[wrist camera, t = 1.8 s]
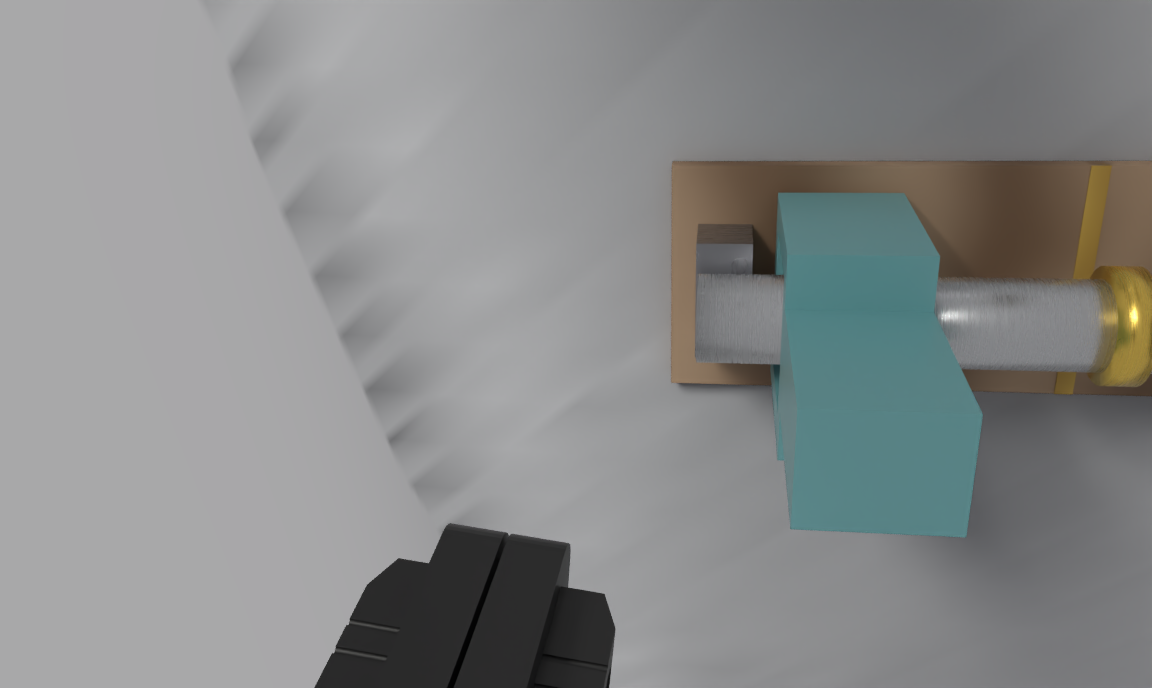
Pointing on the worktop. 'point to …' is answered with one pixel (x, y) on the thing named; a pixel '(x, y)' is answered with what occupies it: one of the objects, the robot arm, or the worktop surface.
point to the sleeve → (868, 372)
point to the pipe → (946, 316)
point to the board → (929, 234)
